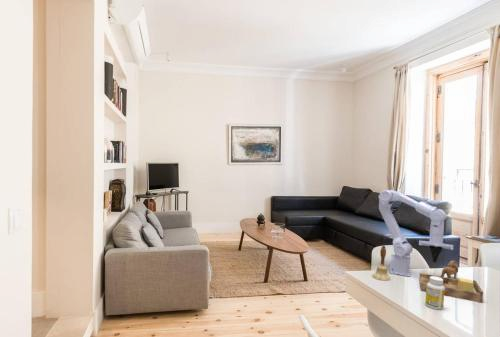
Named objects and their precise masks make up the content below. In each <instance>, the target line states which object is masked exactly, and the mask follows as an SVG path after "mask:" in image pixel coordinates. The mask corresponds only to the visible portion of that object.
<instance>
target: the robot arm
mask: <svg viewBox="0 0 500 337" xmlns="http://www.w3.org/2000/svg"><path fill="white" fill-rule="evenodd" d="M378 199H379V200H378V210H379V212H380V215H381V216H382V219H383V220H384V223H385V225H386V227H387V230H388V231H389V234H390V235H391V238H392V246H393V251H394V254H391V255H390V265H389V274H393V275H398V274H399V275H398V276H406V277H409V276H410V277H411V271H410V270H411V269H410V267H411V253H413V250H414V249H413V246H412V244H411V243H409V241H408V240H407V238H406V237H405V236H404V235H403V233H402V230H401V229H400V226H399V224H398V222H397V220H396V218H395V216H394V214H393V212H392V210H391V208H392V206H393V204H394V203H395V202H402V203H403V204H406V205H408V206H411V207H413V208H415V211H416V212H417V213H419V214H422V215H423V216H425V217H427V218H429V219H430V226H429V227H430V228H429V241H428V240H419V241H418V245H419V246H426V247H428V248H429V250H430V253H431V256H432V257H431V258H432V263H437V261H438V258H439V256H440V254H441V253H442V251H443V249H446V250H451V251H453V250H454V244H447V243H444V233H445V232H444V231H445V220H446V218H447V213H446V212H445V211H444V210H443V209H442V208H438V207H437V206H433V205H430V204H428V202H427V201H422V200H421V201H417V200H416V199H413V198H412V197H409V196H407V195H406V194H404V193H402V192H400V191H396V190H395V189H384V190H381V191H380V192H379V194H378Z"/></svg>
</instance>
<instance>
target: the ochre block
mask: <svg viewBox="0 0 500 337" xmlns="http://www.w3.org/2000/svg"><path fill="white" fill-rule="evenodd" d="M457 280H458V288H459V289H460V290H465V291H470V292H473V284H474V283H473V280H472V279H469V278H463V277H458V279H457Z"/></svg>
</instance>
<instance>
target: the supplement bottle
mask: <svg viewBox="0 0 500 337" xmlns="http://www.w3.org/2000/svg"><path fill="white" fill-rule="evenodd" d="M435 276H436V275H434V276H431V277H430V282H429V283H427V289H426V292H425V305H426V306H427V307H428V308H430V309H434V310H442V309H443V308H444V302H445V295H444V292H445V287H444V286H443V285H442V284H443V279H442V278H439V277H435Z"/></svg>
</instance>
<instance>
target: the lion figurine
mask: <svg viewBox="0 0 500 337" xmlns="http://www.w3.org/2000/svg"><path fill="white" fill-rule="evenodd" d="M447 266H448V267H444V268H442V271H441V275H440V277H445V275H446V278H451V279H452V276H453V279H457V274H458V272H459V264H458V262H457V261H456V260H451V261H449V263H447Z"/></svg>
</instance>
